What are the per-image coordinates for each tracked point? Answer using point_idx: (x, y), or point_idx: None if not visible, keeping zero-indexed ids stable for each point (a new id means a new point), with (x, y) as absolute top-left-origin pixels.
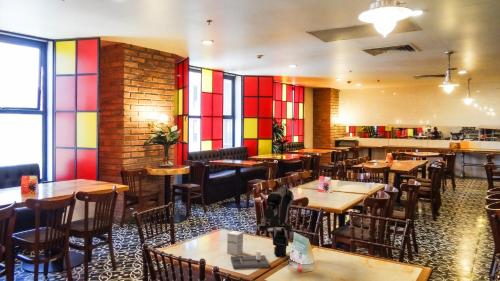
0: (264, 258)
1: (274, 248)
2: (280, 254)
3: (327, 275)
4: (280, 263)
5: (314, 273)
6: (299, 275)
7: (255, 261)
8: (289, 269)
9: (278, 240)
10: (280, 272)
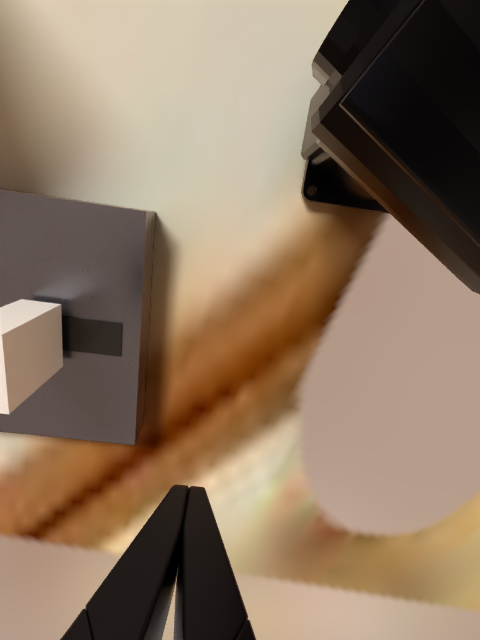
0: (122, 311)
1: (325, 94)
2: (354, 195)
3: (458, 597)
4: (265, 368)
5: (405, 564)
6: (298, 571)
7: None
8: (281, 485)
9: (401, 221)
10: None
